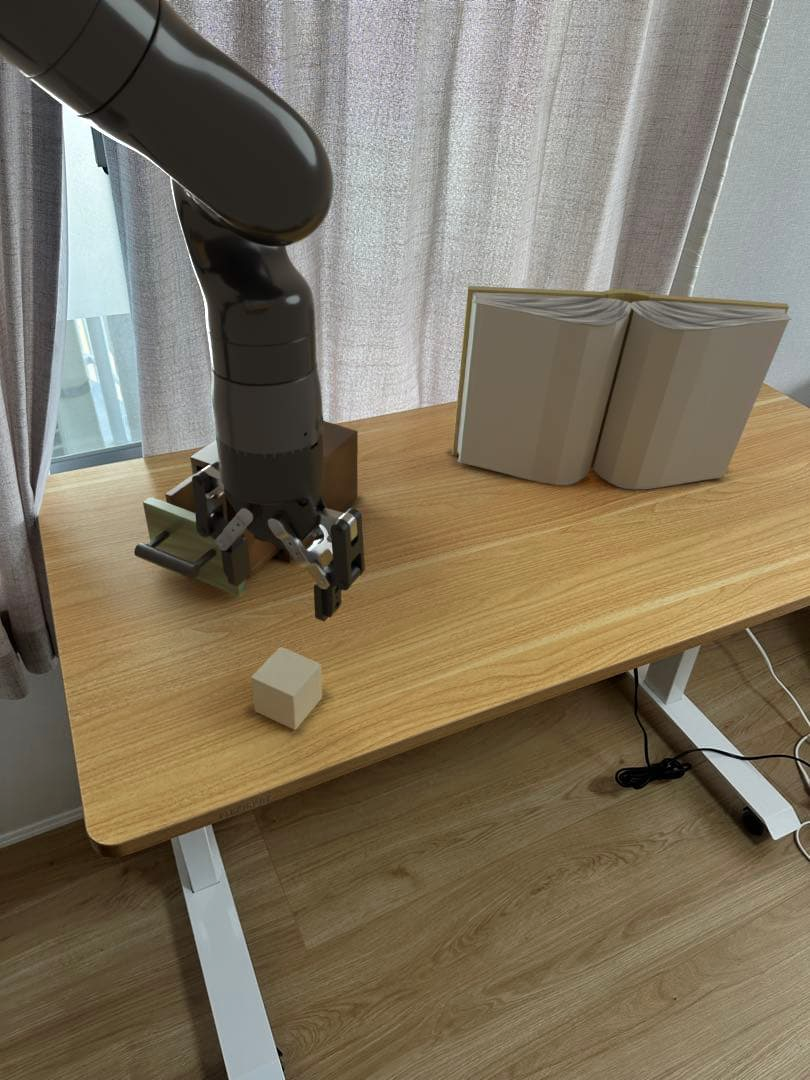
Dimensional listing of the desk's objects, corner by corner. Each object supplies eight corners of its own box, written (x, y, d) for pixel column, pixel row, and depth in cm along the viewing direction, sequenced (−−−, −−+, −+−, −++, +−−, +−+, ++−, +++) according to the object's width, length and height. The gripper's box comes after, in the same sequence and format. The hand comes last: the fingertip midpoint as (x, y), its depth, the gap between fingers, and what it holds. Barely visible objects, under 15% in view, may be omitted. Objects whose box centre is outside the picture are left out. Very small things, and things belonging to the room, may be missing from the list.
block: (295, 730, 71) (293, 696, 68) (254, 711, 72) (250, 677, 69) (322, 697, 74) (321, 663, 71) (282, 679, 75) (280, 646, 73)
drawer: (213, 621, 80) (204, 560, 75) (125, 583, 84) (112, 523, 79) (311, 530, 92) (309, 472, 88) (231, 501, 96) (225, 444, 92)
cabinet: (290, 562, 89) (285, 490, 83) (199, 528, 93) (189, 457, 88) (357, 499, 99) (357, 430, 94) (273, 470, 104) (268, 403, 98)
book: (719, 462, 109) (785, 297, 92) (732, 500, 104) (805, 333, 87) (452, 447, 110) (467, 280, 93) (451, 485, 105) (467, 315, 87)
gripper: (153, 419, 56) (183, 594, 66) (327, 475, 51) (332, 656, 61) (220, 378, 62) (239, 546, 71) (383, 426, 57) (380, 599, 66)
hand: (282, 597), depth 66 cm, fingers open, 8 cm apart
